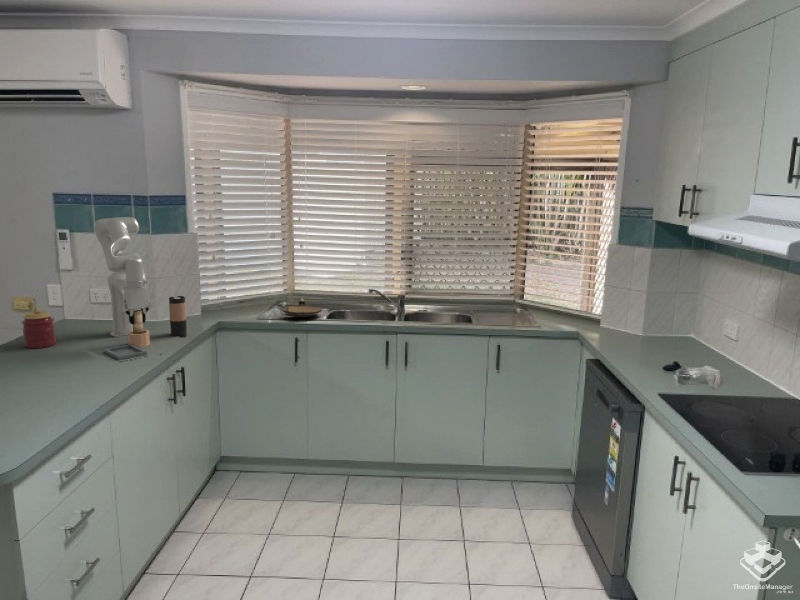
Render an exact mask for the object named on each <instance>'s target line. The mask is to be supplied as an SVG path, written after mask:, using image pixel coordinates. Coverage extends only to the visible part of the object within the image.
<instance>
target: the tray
mask: <svg viewBox="0 0 800 600" xmlns="http://www.w3.org/2000/svg"><path fill="white" fill-rule="evenodd" d="M103 351H104V352H103V353H105V354H106V355H109V356H110V357H112V358H114V359H115V360H117V361H120V363H123V361H125V362H128V360H130V361H133V360H132V359H135V360H138V359H137V358H139V359H142V358H141V357H144V358H147V357H148V356H147V355H148V353H147V352H148V351H146V350H144V349H143V348H142V347H136V346H134V345H132V344H125V345H120V346H115V347H110V348H109V347H108V348H104V349H103Z"/></svg>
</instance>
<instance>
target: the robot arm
mask: <svg viewBox="0 0 800 600" xmlns="http://www.w3.org/2000/svg"><path fill="white" fill-rule="evenodd" d="M93 229H94V234H95V236H96V238H97V240H98V242H99V244H100V245H101V248H102V250H103V255H104V258H105V262H106V266H107V269H108V270H109V271H110V272H112V273H111V274H109V275H108V277H107V285H108V289H109V295H110V303H111V313H112V315H111V316H112V326H113V328H112V329H113V330H112V331H110V336H111V337H115V338H116V337H117V338H120V337H126V336H127V337H128V332H130V331H133V324H134V316H133V310H142V317H143V324H145V323H146V320H147V318H146V317H147V316H146V314H147V312H148V311H149V310H150V309H151V308H152V307H153V305H152V303H151V302H150V301H149V295H148V291H147V288H146V287H147V284H148V282H147V276H146V273H145V269H144V262H143V261H144V260H143V259H142V258H141V256H140V254H139V253H137V252H135V251H134V252H133V251H129V252H125V251H123V250H126V249H128V248H129V247H130V246H131V244H132V239H131V236H130V235H136V234H138V233H139V231H140V224H139V222H138V220H137V219H136V218H135V217H132V216H131V217H130V216H126V217H122V216H121V217H117V216H116V217H111V218H110V217H109V218H100V219H97V220H96V221H95V222H94V228H93Z"/></svg>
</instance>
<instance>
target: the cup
mask: <svg viewBox="0 0 800 600" xmlns="http://www.w3.org/2000/svg"><path fill="white" fill-rule="evenodd" d="M150 336H151V334H150V330H148V329H143V334H133V331H130V332H128V335H127V339H128V343H127V345H129V344H132V345H134V346H136V347H138V348H143V347H144V348H145V347H147V346H150V345H151V337H150Z"/></svg>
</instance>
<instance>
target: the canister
mask: <svg viewBox="0 0 800 600" xmlns="http://www.w3.org/2000/svg"><path fill="white" fill-rule="evenodd" d="M22 318H23V320H22V321H21V324H22V325H23V326H22V327H23V328H22V334H23V335H22V336H23V344H24V348H26V347H27V348H26V349H43V347H44V348H49V347H52V346H54V345H56V343H57V337H56V329H55V328H56V326H55V325H54V321H55V318H53V317H52V313H50V312H48V311H46V310H45V311H44V310H42V311H41V309H40V308H39V307H37V308H34V310H33V311H31V312H28V313H26V314H25V315H24V316H23V317H22ZM48 346H49V347H48Z"/></svg>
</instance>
